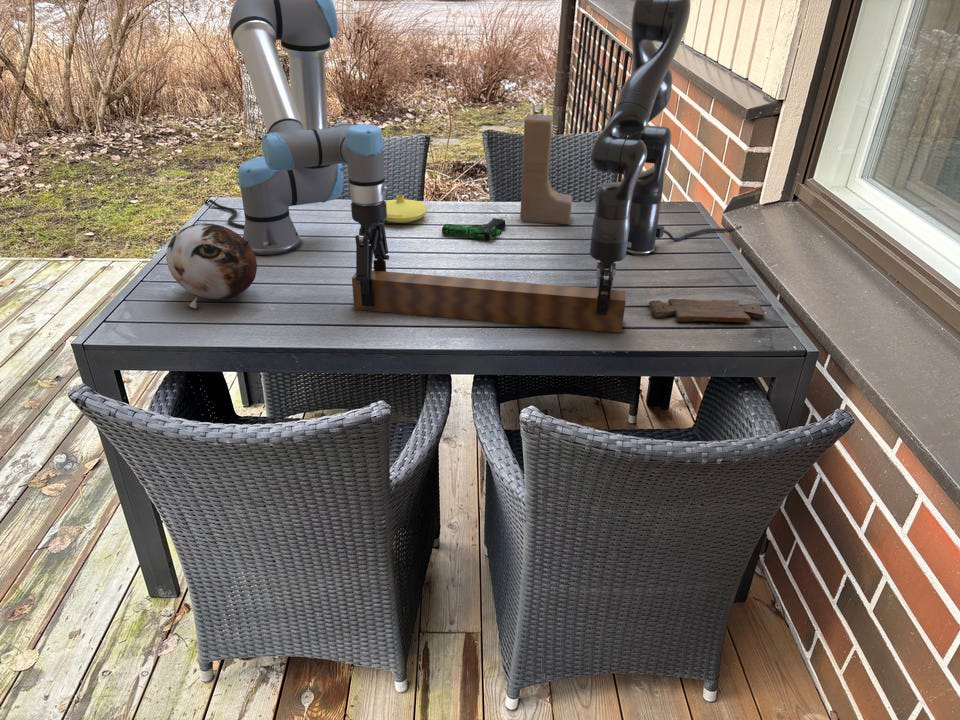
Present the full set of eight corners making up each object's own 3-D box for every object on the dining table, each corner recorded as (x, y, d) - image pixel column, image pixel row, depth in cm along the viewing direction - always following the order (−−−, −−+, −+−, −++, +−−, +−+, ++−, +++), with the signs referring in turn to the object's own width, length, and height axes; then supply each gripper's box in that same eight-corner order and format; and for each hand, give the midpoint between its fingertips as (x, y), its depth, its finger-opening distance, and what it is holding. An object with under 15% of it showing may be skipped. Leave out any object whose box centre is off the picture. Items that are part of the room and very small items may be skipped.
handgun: (511, 219, 210) (493, 234, 198) (511, 228, 211) (492, 244, 199) (461, 212, 215) (440, 226, 203) (461, 221, 217) (440, 236, 204)
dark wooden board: (769, 325, 160) (756, 306, 169) (771, 319, 159) (757, 299, 168) (654, 321, 161) (647, 302, 169) (655, 314, 160) (648, 295, 168)
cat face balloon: (130, 285, 161) (164, 203, 163) (192, 308, 177) (221, 233, 178) (195, 307, 151) (229, 220, 152) (254, 330, 166) (285, 250, 168)
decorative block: (569, 225, 214) (578, 121, 198) (519, 222, 215) (524, 119, 200) (570, 216, 220) (578, 116, 205) (522, 213, 222) (526, 113, 206)
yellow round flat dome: (398, 206, 226) (397, 184, 222) (437, 217, 218) (437, 194, 214) (364, 220, 215) (362, 197, 211) (403, 231, 207) (402, 208, 203)
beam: (354, 309, 164) (351, 277, 160) (360, 299, 168) (358, 269, 164) (621, 332, 156) (625, 300, 152) (621, 322, 161) (625, 290, 157)
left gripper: (370, 219, 143) (377, 319, 154) (398, 186, 162) (402, 277, 173) (334, 217, 144) (343, 316, 155) (366, 184, 163) (373, 275, 174)
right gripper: (628, 249, 141) (619, 324, 150) (627, 224, 154) (618, 295, 162) (590, 246, 142) (583, 321, 151) (592, 221, 155) (585, 292, 163)
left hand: (374, 295), depth 164 cm, fingers open, 9 cm apart
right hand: (601, 307), depth 157 cm, fingers open, 6 cm apart
